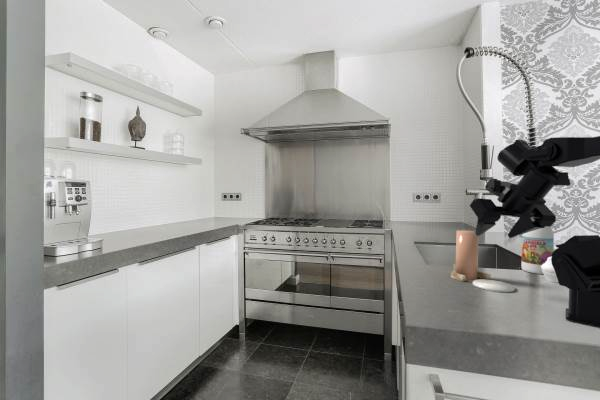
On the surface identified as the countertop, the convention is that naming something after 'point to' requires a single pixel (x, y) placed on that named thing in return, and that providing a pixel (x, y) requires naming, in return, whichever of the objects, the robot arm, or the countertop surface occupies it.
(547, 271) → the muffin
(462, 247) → the salmon tan cylinder
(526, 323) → the countertop surface
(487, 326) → the countertop surface
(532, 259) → the milk bottle
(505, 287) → the white disc
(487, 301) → the countertop surface
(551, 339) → the countertop surface
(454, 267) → the wooden blocks
